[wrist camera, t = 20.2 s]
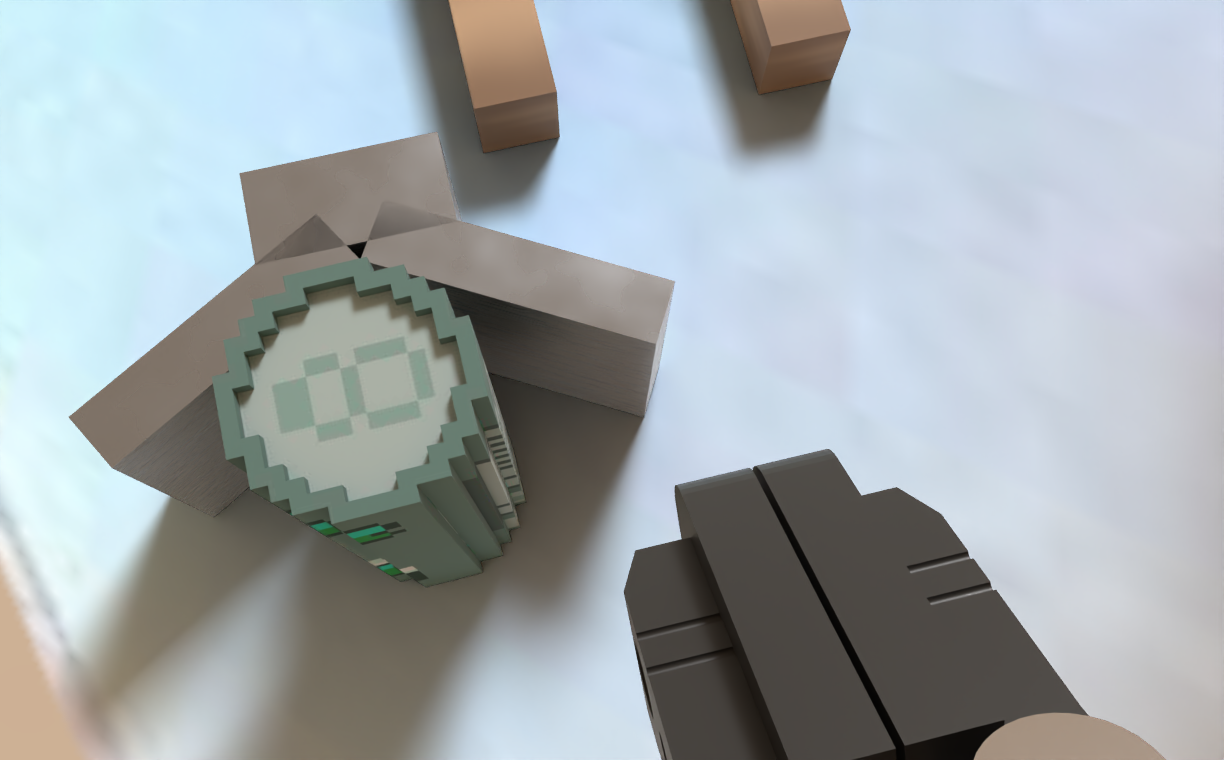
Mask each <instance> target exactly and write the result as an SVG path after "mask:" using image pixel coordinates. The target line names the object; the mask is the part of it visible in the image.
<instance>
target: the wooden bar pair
mask: <svg viewBox="0 0 1224 760" xmlns="http://www.w3.org/2000/svg"><path fill="white" fill-rule="evenodd" d="M448 2H449V7H450V11H451V15H452V20H453V24H454V28H455V32H456V37H457V41H458V45H459V50H460V54H461V58H462V63H463V67H464V71H465V75H466V80H467V84H468V88H469V93H470V97H471V101H472V106H473V110H474V114H475V118H476V123H477V127H478V131H479V136H480V140H481V144H482V149H483V153H487V152H492V151H496V150H501V149H506V148H511V147H515V146H520V145H525V144H529V143H534V142H539V141H543V140H548V139H553V138H557V137H560V135H559V120H558V105H557V91H556V87H555V83H554V79H553V75H552V71H551V67H550V64H549V60H548V56H547V52H546V48H545V44H544V40H543V36H542V32H541V28H540V24H539V20H538V16H537V12H536V8H535V5H534V1H533V0H448ZM730 2H731V5H732V8H733V12H734V15H735V18H736V21H737V25H738V28H739V31H740V35H741V38H742V41H743V44H744V48H745V51H746V54H747V58H748V61H749V64H750V67H751V71H752V74H753V77H754V81H755V84H756V87H757V90H758V94H764V93H769V92H774V91H778V90H783V89H788V88H792V87H797V86H802V85H806V84H811V83H816V82H821V81H825V80H830V79H832V78H833V75H834V73H835V70H836V67H837V65H838V62H839V60H840V57H841V54H842V52H843V49H844V46H845V44H846V41H847V38H848V36H849V33H850V30H851V29H850V26H849V23H848V20H847V17H846V14H845V11H844V8H843V5H842V2H841V0H730Z"/></svg>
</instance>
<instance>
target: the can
mask: <svg viewBox="0 0 1224 760" xmlns="http://www.w3.org/2000/svg"><path fill="white" fill-rule="evenodd" d="M283 280H284V286H285V291H286V292H283V293H279V294H275V295H271V296H266V297H262V298H258V299H254V300H252V304H253V310H254V315H255V316H252V317H247V318H243V319H239V320H238V325H239V331H240V336H238V337H233V338H229V339H225V340H223V342H224V347H225V353H226V358H227V364H228V370H229V372H228V373H224V374H220V375H216V376H212V382H213V388H214V393H215V399H216V405H217V410H218V416H219V422H220V428H221V433H222V439H223V445H224V450H225V456H226V460H227V461H229V462H230V463H232V464H233V465H235V466H236V467H238V468H239V469H241V470H242V471H244V472H245V473H247V476H248V481H249V487H250V490H251V491H253V492H254V493H256V494H258V495H259V496H261V497H263V498H264V499H266V500H268V501H269V502H271V503H272V504H274V505H276V506H277V507H279V508H281V509H282V510H284V511H285V512H287V513H289V514H290V515H292V516H294V517H295V518H297V519H299V520H300V521H302V522H303V523H305V524H307V525H308V526H310V527H312V528H313V529H315V530H317V531H318V532H320V533H322V534H323V535H325V536H326V537H328V538H330V539H331V540H333V541H335V542H336V543H338V544H340V545H341V546H343V547H344V548H346V549H348V550H349V551H351V552H353V553H354V554H356V555H358V556H359V557H361V558H363V559H364V560H366V561H367V562H369V563H371V564H372V565H374V566H376V567H377V568H379V569H381V570H382V571H384V572H386V573H387V574H389V575H390V576H392V577H394V578H395V579H397V580H399V581H400V582H401V581H405V580H409V579H414V580H416V581H417V582H419V583H420V584H422V585H423V586H425V587H429V586H433V585H437V584H440V583H444V582H448V581H452V580H456V579H460V578H464V577H468V576H472V575H475V574H479V573H483V571H482V566H481V562H480V561H483V560H487V559H491V558H495V557H499V556H503V554H502V549H501V545H500V544H503V543H507V542H511V537H510V533H509V530H512V529H516V528H520V525H519V520H518V516H517V512H516V508H515V505H518V504H522V503H526V500H525V496H524V492H523V488H522V484H521V479H520V475H519V471H518V467H517V463H516V459H515V455H514V450H513V447H512V444H511V441H510V438H509V435H508V432H507V429H506V426H505V423H504V420H503V417H502V414H501V411H500V408H499V405H498V402H497V399H496V396H495V393H494V390H493V387H492V384H491V381H490V378H489V375H488V372H487V369H486V366H485V363H484V359H483V356H482V353H481V350H480V347H479V344H478V341H477V338H476V335H475V332H474V329H473V326H472V323H471V320H470V317H469V315H467V316H462V317H458V318H456V317H455V315H454V312H453V309H452V307H451V304H450V301H449V298H448V296H447V293H446V290H445V288H440V289H436V290H432V291H430V289H429V287H428V284H427V282H426V279H425V277H424V276H421V277H417V278H413V279H410V277H409V275H408V273H407V270H406V268H405V266H404V264H403V265H398V266H394V267H390V268H386V269H381V270H377V271H374V269H373V267H372V265H371V264H370V262H369V260H368V258H367V257H363V258H359V259H355V260H350V261H346V262H342V263H337V264H333V265H329V266H325V267H320V268H316V269H312V270H307V271H303V272H299V273H295V274H290V275H286V276H283Z"/></svg>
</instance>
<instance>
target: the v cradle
mask: <svg viewBox="0 0 1224 760" xmlns="http://www.w3.org/2000/svg"><path fill="white" fill-rule="evenodd" d="M240 179H241V184H242V190H243V196H244V202H245V208H246V214H247V219H248V225H249V231H250V237H251V243H252V248H253V254H254V260H255V264H254V265H253V266H252V267H251V268H250V269H248V270H247V271H246V272H245V273H243V274H242V275H241V276H240V277H239V278H237V279H236V280H235V281H234V282H233V283H231V284H230V285H229V286H228V287H226V288H225V289H224V290H223V291H222V292H220V293H219V294H218V295H217V296H215V297H214V298H213V299H212V300H211V301H209V302H208V303H207V304H206V305H205V306H203V307H202V308H201V309H200V310H198V311H197V312H196V313H195V314H194V315H192V316H191V317H190V318H189V319H187V320H186V321H185V322H184V323H183V324H181V325H180V326H179V327H178V328H177V329H175V330H174V331H173V332H172V333H170V334H169V335H168V336H167V337H166V338H164V339H163V340H162V341H161V342H159V343H158V344H157V345H156V346H155V347H153V348H152V349H151V350H150V351H149V352H147V353H146V354H145V355H144V356H142V357H141V358H140V359H139V360H138V361H136V362H135V363H134V364H133V365H131V366H130V367H129V368H128V369H127V370H125V371H124V372H123V373H122V374H121V375H119V376H118V377H117V378H116V379H114V380H113V381H112V382H111V383H110V384H108V385H107V386H106V387H105V388H103V389H102V390H101V391H100V392H99V393H97V394H96V395H95V396H94V397H93V398H91V399H90V400H89V401H88V402H86V403H85V404H84V405H83V406H82V407H80V408H79V409H78V410H77V411H76V412H74V413H73V414H72V415H71V416H69V418H70V419H71V421H72V422H73V423H74V424H75V425H76V426H77V428H78V429H79V430H80V431H81V432H82V433H83V435H84V436H85V437H86V438H87V439H88V440H89V442H90V443H91V444H92V445H93V446H94V447H95V449H96V450H97V451H98V452H99V453H100V454H101V456H102V457H103V458H104V459H105V460H106V462H107V463H108V464H109V465H110V466H111V467H112V468H113V469H115V470H117V471H119V472H121V473H123V474H125V475H128V476H130V477H132V478H134V479H136V480H138V481H140V482H142V483H144V484H146V485H148V486H150V487H153V488H155V489H157V490H159V491H161V492H163V493H165V494H167V495H169V496H171V497H173V498H175V499H177V500H180V501H182V502H184V503H186V504H188V505H190V506H192V507H194V508H196V509H198V510H200V511H202V512H204V513H207V514H209V515H211V516H213V517H215V516H216V515H217V514H219V513H220V512H221V511H222V510H223V509H224V508H225V507H227V506H228V505H229V504H230V503H231V502H232V501H234V500H235V499H236V498H237V497H238V496H239V495H240V494H242V493H243V492H244V491H245V490H246V489H247V488H249V481H248V476H247V473H245V472H244V471H242V470H241V469H239V468H238V467H236V466H235V465H233V464H232V463H230V462H229V461H227V460H226V456H225V450H224V445H223V439H222V433H221V428H220V422H219V416H218V410H217V405H216V399H215V393H214V388H213V382H212V376H216V375H220V374H224V373H228V372H229V370H228V364H227V358H226V353H225V347H224V342H223V340H225V339H229V338H233V337H238V336H240V331H239V325H238V320H239V319H243V318H247V317H252V316H255V315H254V310H253V304H252V300H254V299H258V298H262V297H266V296H271V295H275V294H279V293H283V292H286V291H285V286H284V280H283V276H286V275H290V274H295V273H299V272H303V271H307V270H312V269H316V268H320V267H325V266H329V265H333V264H337V263H342V262H346V261H350V260H355V259H359V258H363V257H367V258H368V260H369V262H370V264H371V265H372V267H373V269H374V271H377V270H381V269H386V268H390V267H394V266H398V265H403V264H404V266H405V268H406V270H407V273H408V275H409V277H410V279H413V278H417V277H421V276H424V277H425V279H426V282H427V284H428V287H429V289H430V291H432V290H436V289H440V288H445V290H446V293H447V296H448V298H449V301H450V304H451V307H452V309H453V312H454V315H455V317H456V318H458V317H462V316H467V315H469V317H470V320H471V323H472V326H473V329H474V332H475V335H476V338H477V341H478V344H479V347H480V350H481V353H482V356H483V359H484V363H485V366H486V369H487V372H489V373H492V374H496V375H499V376H503V377H506V378H510V379H513V380H517V381H520V382H523V383H527V384H530V385H534V386H537V387H541V388H544V389H548V390H551V391H555V392H558V393H561V394H565V395H568V396H572V397H575V398H579V399H582V400H586V401H589V402H593V403H596V404H600V405H603V406H606V407H610V408H613V409H617V410H620V411H624V412H627V413H631V414H634V415H638V416H641V417H644V416H645V412H646V409H647V406H648V402H649V399H650V395H651V392H652V389H653V385H654V382H655V379H656V375H657V372H658V368H659V364H660V359H661V353H662V348H663V343H664V337H665V332H666V327H667V321H668V316H669V310H670V305H671V300H672V294H673V289H674V284H675V281H672V280H668V279H665V278H661V277H657V276H654V275H650V274H647V273H643V272H640V271H636V270H633V269H629V268H625V267H622V266H618V265H615V264H611V263H608V262H604V261H601V260H597V259H593V258H590V257H586V256H583V255H579V254H576V253H572V252H569V251H565V250H561V249H558V248H554V247H551V246H547V245H544V244H540V243H537V242H533V241H529V240H526V239H522V238H519V237H515V236H512V235H508V234H505V233H501V232H497V231H494V230H490V229H487V228H483V227H480V226H476V225H473V224H469V223H465V222H462V218H461V214H460V211H459V207H458V204H457V200H456V197H455V193H454V189H453V186H452V182H451V179H450V175H449V172H448V168H447V164H446V161H445V157H444V154H443V150H442V147H441V143H440V139H439V136H438V132H434V133H429V134H424V135H419V136H415V137H410V138H405V139H400V140H396V141H391V142H386V143H381V144H377V145H372V146H367V147H362V148H358V149H353V150H348V151H344V152H339V153H334V154H329V155H325V156H320V157H315V158H310V159H306V160H301V161H296V162H291V163H287V164H282V165H277V166H272V167H268V168H263V169H258V170H253V171H249V172H244V173H240Z"/></svg>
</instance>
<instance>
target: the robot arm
mask: <svg viewBox="0 0 1224 760" xmlns="http://www.w3.org/2000/svg"><path fill="white" fill-rule="evenodd" d="M675 501H676V508H677V514H678V520H679V526H680V532H681V538H682V539H681V540H677V541H673V542H669V543H665V544H660V545H656V546H652V547H648V548H644V549H640V550H636V551H635V554H634V557H633V561H632V564H631V568H630V571H629V575H628V579H627V582H626V586H625V589H624V595H625V600H626V605H627V610H628V615H629V620H630V625H631V630H632V635H633V640H634V645H635V650H636V655H637V660H638V665H639V670H640V675H641V680H642V685H643V690H644V695H645V700H646V705H647V710H648V713H649V717H650V721H651V724H652V728H653V731H654V735H655V739H656V742H657V746H658V749H659V753H660V755H661V759H662V760H1166V759H1165V758H1164V757H1163V756H1162V755H1160V754H1159V753H1158V752H1157V751H1156V750H1155V749H1154V748H1153V747H1152V746H1151V745H1149V744H1148V743H1147V742H1145V741H1144V740H1143V739H1141V738H1140V737H1139V736H1137V735H1135V734H1133V733H1131V732H1130V731H1128V730H1126V729H1124V728H1122V727H1120V726H1117V725H1115V724H1113V723H1110V722H1108V721H1105V720H1101V719H1098V718H1094V717H1090V716H1088V714H1087V713H1086V712H1085V711H1084V710H1083V708H1082V707H1081V706H1080V705H1079V703H1078V702H1077V701H1076V699H1075V698H1074V696H1073V695H1072V694H1071V692H1070V691H1069V690H1068V688H1067V687H1066V685H1065V684H1064V683H1063V681H1062V680H1061V679H1060V677H1059V676H1058V674H1057V673H1056V672H1055V670H1054V669H1053V668H1052V666H1051V665H1050V663H1049V662H1048V661H1047V659H1046V658H1045V656H1044V655H1043V654H1042V652H1041V651H1040V650H1039V648H1038V647H1037V645H1036V644H1035V643H1034V641H1033V640H1032V639H1031V637H1030V636H1029V634H1028V633H1027V632H1026V630H1025V629H1024V628H1023V626H1022V625H1021V623H1020V622H1019V621H1018V619H1017V618H1016V617H1015V615H1014V614H1013V612H1012V611H1011V610H1010V608H1009V607H1008V606H1007V604H1006V603H1005V601H1004V600H1003V599H1002V597H1001V596H1000V595H999V593H998V592H997V590H994V591H993V590H992V587H991V584H990V581H989V579H988V578H987V577H986V575H985V574H984V572H983V571H982V570H981V568H980V567H979V566H978V564H977V563H976V561H975V560H974V559H970V557H969V554H968V550H967V549H966V548H965V546H964V545H963V544H962V542H961V541H960V539H959V538H958V537H957V535H956V534H955V533H954V531H953V530H952V528H951V527H950V526H949V524H948V523H947V521H946V520H945V519H944V517H943V516H942V515H941V514H940V513H939V512H937V511H935V510H934V509H932V508H930V507H929V506H927V505H925V504H924V503H922V502H920V501H919V500H917V499H915V498H914V497H912V496H910V495H909V494H907V493H905V492H904V491H902V490H900V489H899V488H897V487H896V488H892V489H887V490H883V491H879V492H875V493H871V494H867V495H862V496H861V494H860V493H859V491H858V490H857V488H856V487H855V485H854V483H853V482H852V480H851V479H850V477H849V476H848V474H847V472H846V471H845V469H844V468H843V466H842V465H841V463H840V462H839V460H838V458H837V457H836V456H835V454H834V453H833V452H832V451H831V450H829V449H825V450H821V451H817V452H813V453H808V454H804V455H800V456H796V457H792V458H787V459H783V460H779V461H775V462H770V463H766V464H762V465H758V466H754V468H753V471H752V470H751V469H750V468H747V469H742V470H738V471H734V472H730V473H725V474H721V475H717V476H713V477H709V478H704V479H700V480H696V481H692V482H687V483H683V484H679V485H675Z"/></svg>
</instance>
